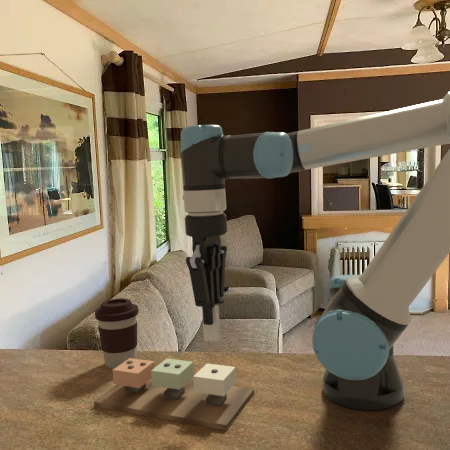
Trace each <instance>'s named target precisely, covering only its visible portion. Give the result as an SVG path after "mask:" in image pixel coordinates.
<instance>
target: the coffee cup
mask: <svg viewBox="0 0 450 450" xmlns="http://www.w3.org/2000/svg"><path fill="white" fill-rule="evenodd" d="M139 313H140V312H139V306H138V304H135V303H132V300H131V299H128V298H123V297H122V298H111V299H108V300H104V301H103V302H102V303H101V304H100V307H98V308H97V309H95V311H94V318H95V319H96V320H97V321H98V325H97V326H98V333H99V334H98V335H99V339H100V345H101V346H100V347H101V350H102V353H103V359H104V364H105V367H106V368H108V369H111V370H113V369H115V368H116V367H117V366H119V365H120V364H122V363H123V362H125V361H126V360H128V359H129V358H132V359H138V358H137V357H138V355H137V354H138V353H137V347H138V320H137V316H138V315H139Z"/></svg>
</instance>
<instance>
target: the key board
mask: <svg viewBox="0 0 450 450" xmlns="http://www.w3.org/2000/svg"><path fill="white" fill-rule="evenodd" d="M254 394H255V389H254V388H250V387H243V386H235V385H233V386H232V388H231V389H230V390H229V391H228V392H227V393H226V395H225V396H219V395H212V394H205V393H199V392H194V380H192V379H191V380H190V381H189V382H187V383H186V384H185V385H184V386H183V387H182V388H181V389H180V390H179V389H172V388H166V387H159V386H153V385H152V378H151V379H150V380H149V381H148V382H146V383H145V384H144V385H143V386H141V387H140V388H135V387H129V386H123V385H116V384H115V385H114V386H113V387H112V388H110V389H109V390H107V391H106V392H105V393H104V394H103V395H101V396H100V397H98V398H97V399H95V400H94V401H93V406H94V408H101V409H106V410H111V411H116V412H120V413H121V412H122V413H128V414H132V415H140V416H146V417H150V418H154V419H155V418H157V419H161V420H166V421H172V422H178V423H184V424H188V425H194V426H200V427H205V428H211V429H216V430H221V431H222V430H223V431H228V430H229V428H230V427H231V426H232V425H233V423H234V422H235V420H236V419H237V418H238V416H239V415H240V413H241V412H242V411H243V410H244V409H245V406H246V405H247V404H248V403H249V401H250V400H251V398H252V397H253V395H254Z"/></svg>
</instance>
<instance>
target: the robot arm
mask: <svg viewBox="0 0 450 450" xmlns="http://www.w3.org/2000/svg"><path fill="white" fill-rule="evenodd" d="M448 144H449V145H450V91H448V92H447V93H446V94H445V95H444V96H443V98H441V99H439V100H438V99H437V100H434V101H428V102H424V103H420V104H415V105H410V106H406V107H402V108H397V109H391V110H389V111H383V112H378V113H374V114H370V115H366V116H365V115H364V116H360V117H354V118H351V119H347V120H342V121H338V122H334V123H329V124H324V125H321V126H316V127H311V128H307V129H302V130H298V131H291V132H287V133H286V132H283V131H282V132H281V131H280V132H279V131H277V132H275V131H265V132H259V133H247V134H246V133H245V134H238V135H237V134H236V135H226V134H225V135H224V133H223V128H222V126H220V125H218V124H198V125H197V124H195V125H188V126H185V127H183V129H182V130H181V132H180V151H179V155H180V157H181V172H182V183H183V184H182V185H183V186H182V189H183V194H182V200H183V207H184V212H185V213H186V214H187V215H185V216H184V225H185V226H184V227H185V235H186V236H188V237H191V238H192V239H193V240H192V248H191V250H192V252H193V253H192V255H191V256H187V257H186V258H185V263H186V265H187V268H188V272H189V277H190V282H191V287H192V294H193V297H194V298H193V299H194V302H195V303H194V305H195V306H196V307H198V308H199V307H200V308H201V311H202V312H201V313H202V330H203V332H202V333H203V340H204V341H210V342H218V341H219V340H221V326H220V325H221V323H220V306H219V304H220V305H221V304H224V301H225V299H221V298H223V297H224V294H225V272H226V255H227V251H228V247H227V245H222V244H221V243H222V241H221V236H225V234H227V232H228V223H227V221H228V220H227V217H228V216H227V214H226V213H225V212H224V211H226V209H227V197H226V195H227V194H226V183H225V181H226V180H233V179H267V180H268V179H270V180H271V179H275V178H276V179H277V178H285V177H287V176H289V174H293V173H298V172H301V171H306V170H307V171H308V170H312V169H317V168H322V167H328V166H334V165H338V164H339V165H340V164H344V163H351V162H355V161H356V162H357V161H360V160H367V159H372V158H377V157H382V156H388V155H393V154H399V153H405V152H406V153H407V152H410V151H414V150H415V151H416V150H421V149H425V148H426V149H428V148H432V147H437V146H443V145H448ZM449 254H450V148H449V149H448V150H447V152H446V153H445V155H444V156H443V158H442V159H441V161H440V162H439V163H438V165H437V166H436V168H435V169H434V170H433V171H432V173H431V175H430V176H429V178H428V179H427V180H426V182H425V183H424V185H423V186H422V188H420V191H419V192H418V193H417V195H416V196H415V198H414V199H413V201H412V202H411V203H410V205H409V207H407V209H406V211H405V212H404V213H403V215H402V216H401V217H400V219H399V221H398V222H397V223H396V225H395V226H394V227H393V229H392V230H391V232H390V233H389V235H388V237H387V238H386V239H385V240H384V242H383V243H382V245H381V246H380V247H379V249H378V251H377V252H376V253H375V255H374V256H373V257H372V259H371V260H370V262H369V263H368V265H367V266H366V268H365V269H364V270H363V272H362V273H361V274H341V275H340V274H339V275H334V276H332V277H331V278H330V279H329V286H328V292H329V301H328V302H329V303H328V304H327V305H326V307H325V309H324V310H323V312H322V315H321V316H320V317H319V318H318V319H317V320H316V322H315V324H314V326H313V330H312V338H311V342H312V348H313V351H314V355H315V357H316V358H317V360H318V362H319V363H320V364H321V365H322V366H323V368H324V369H325V370H324V373H323V378H322V390H323V394H324V395H325V396H326V398H327V399H328V400H330V401H332V402H333V403H335V404H336V405H340V406H341V407H346V408H350V409H353V410H361V411H379V410H386V409H389V408H392V407H395V406H397V405H398V404H400V403H401V402H402V401H403V399H404V396H405V395H404V394H405V393H404V385H405V384H404V382H403V379H402V374H401V372H400V370H399V366H398V365H397V364H398V363H397V361H396V359H395V355H394V351H395V350H394V345H395V343H396V342H397V341H398V339H399V338H400V336H401V335H402V333H404V331H405V330H406V329H407V328H408V326H409V324H410V323H411V321H412V317H411V314H410V309H409V308H410V306H411V305H412V304H413V302H414V300H415V299H416V298H417V297H418V296H419V294H420V293H421V292H422V290H423V289H424V287H425V286H426V284H428V282H429V281H430V279H431V278H432V277H433V275H434V274H435V273H436V272H437V270H438V269H439V267H440V266H441V264H442V263H443V262H444V261H445V260H446V258H447V257H448V255H449Z"/></svg>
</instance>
